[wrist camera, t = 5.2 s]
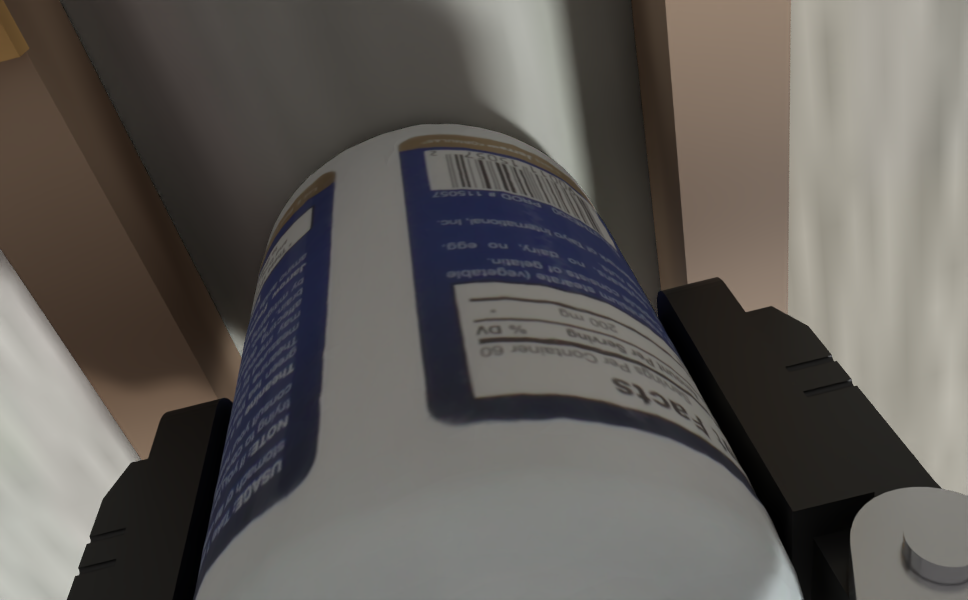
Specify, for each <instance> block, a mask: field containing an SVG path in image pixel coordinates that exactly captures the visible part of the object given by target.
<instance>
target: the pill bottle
mask: <svg viewBox="0 0 968 600" xmlns="http://www.w3.org/2000/svg"><path fill="white" fill-rule="evenodd" d="M193 600H804V597H803V593H802V590H801V587H800V583H799V580H798V577H797V573H796V571H795V569H794V567H793V565H792V563H791V561H790V559H789V557H788V555H787V552H786V550H785V548H784V546H783V544H782V542H781V540H780V538H779V535H778V533H777V531H776V528H775V526H774V524H773V521H772V519H771V518H770V516H769V514H768V512H767V511H766V509H765V507H764V505H763V504H762V503H761V501H760V500H759V498H758V497H757V496H756V493H755V491H754V489H753V487H752V485H751V483H750V481H749V479H748V477H747V475H746V473H745V472H744V470H743V469H742V467H741V465H740V464H739V462H738V460H737V458H736V456H735V454H734V452H733V451H732V449H731V447H730V445H729V443H728V441H727V439H726V438H725V436H724V435H723V433H722V432H721V430H720V427H719V425H718V423H717V422H716V420H715V418H714V417H713V415H712V413H711V411H710V410H709V408H708V406H707V404H706V403H705V401H704V399H703V397H702V396H701V394H700V392H699V390H698V388H697V386H696V384H695V383H694V381H693V379H692V377H691V376H690V374H689V372H688V370H687V368H686V367H685V365H684V363H683V361H682V359H681V357H680V355H679V353H678V351H677V349H676V348H675V346H674V344H673V343H672V341H671V340H670V338H669V336H668V335H667V333H666V331H665V329H664V327H663V325H662V323H661V322H660V320H659V318H658V317H657V315H656V313H655V311H654V309H653V307H652V306H651V304H650V302H649V300H648V298H647V297H646V295H645V293H644V292H643V290H642V288H641V286H640V285H639V283H638V281H637V279H636V277H635V276H634V274H633V272H632V270H631V269H630V267H629V265H628V263H627V262H626V260H625V258H624V257H623V255H622V253H621V251H620V250H619V248H618V246H617V244H616V242H615V240H614V238H613V237H612V235H611V233H610V232H609V230H608V228H607V226H606V225H605V223H604V222H603V220H602V219H601V218H600V216H599V215H598V214H597V212H596V210H595V208H594V206H593V204H592V202H591V201H590V199H589V198H588V196H587V195H586V193H585V192H584V191H583V190H582V188H581V187H580V186H579V185H578V183H577V182H576V181H575V179H574V178H573V177H572V176H571V175H570V174H569V173H568V172H567V171H566V170H565V169H564V168H563V167H561V166H560V165H559V164H558V163H556V162H555V161H554V160H552V159H551V158H550V157H548V156H547V155H545V154H544V153H542V152H541V151H539V150H537V149H536V148H534V147H532V146H530V145H528V144H526V143H524V142H521V141H519V140H517V139H515V138H513V137H510V136H508V135H505V134H502V133H499V132H495V131H491V130H487V129H483V128H479V127H472V126H466V125H459V124H421V125H416V126H411V127H406V128H403V129H399V130H395V131H392V132H388V133H384V134H381V135H379V136H376V137H374V138H371V139H369V140H367V141H365V142H362V143H360V144H358V145H356V146H353V147H351V148H349V149H347V150H345V151H343V152H342V153H340V154H339V155H337V156H336V157H334V158H333V159H331V160H330V161H328V162H327V163H326V164H325V165H323V166H322V167H321V168H320V169H318V170H317V171H316V172H314V173H313V174H312V175H311V176H309V177H308V178H307V179H306V181H305V182H304V183H303V184H302V185H301V186H300V187H299V188H298V189H297V190H296V191H295V192H294V194H293V195H292V197H291V198H290V199H289V201H288V202H287V204H286V205H285V206H284V208H283V210H282V211H281V213H280V215H279V217H278V219H277V221H276V222H275V225H274V227H273V230H272V232H271V234H270V237H269V240H268V244H267V248H266V251H265V254H264V257H263V260H262V264H261V267H260V271H259V275H258V279H257V286H256V291H255V296H254V301H253V306H252V311H251V317H250V322H249V325H248V329H247V333H246V338H245V343H244V348H243V354H242V359H241V364H240V369H239V374H238V379H237V385H236V391H235V396H234V401H233V406H232V411H231V417H230V422H229V426H228V431H227V436H226V441H225V446H224V451H223V456H222V461H221V467H220V472H219V477H218V481H217V486H216V490H215V494H214V500H213V506H212V511H211V516H210V520H209V525H208V531H207V535H206V539H205V543H204V547H203V552H202V558H201V564H200V569H199V574H198V579H197V584H196V589H195V594H194V598H193Z"/></svg>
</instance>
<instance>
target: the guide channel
mask: <svg viewBox="0 0 968 600" xmlns="http://www.w3.org/2000/svg"><path fill="white" fill-rule="evenodd" d="M631 5H632V14H633V24H634V34H635V43H636V53H637V63H638V72H639V82H640V92H641V101H642V111H643V121H644V130H645V140H646V150H647V159H648V169H649V179H650V188H651V198H652V208H653V217H654V227H655V237H656V246H657V256H658V266H659V275H660V285H661V291H662V290H666V289H670V288H674V287H678V286H682V285H686V284H690V283H694V282H698V281H702V280H706V279H711V278H715V277H719V278H720V279H722V280H723V281H724V283H725V284H726V285H727V287H728V288H729V290H730V291H731V292H732V294H733V295H734V296H735V298H736V299H737V301H738V302H739V303H740V305H741V306H742V308H743V309H744V310H745V312H749V311H753V310H757V309H761V308H765V307H769V306H773V307H775V308H776V309H778V310H780V311H782V312H784V313H785V314H787V315H788V224H789V123H790V21H791V0H631ZM0 249H1V250H2V252H3V253H4V255H5V256H6V258H7V259H8V261H9V262H10V264H11V265H12V267H13V268H14V270H15V271H16V273H17V274H18V276H19V277H20V279H21V280H22V282H23V283H24V284H25V286H26V287H27V289H28V290H29V292H30V293H31V295H32V296H33V298H34V299H35V301H36V302H37V304H38V305H39V307H40V308H41V310H42V311H43V313H44V314H45V316H46V317H47V319H48V320H49V322H50V323H51V325H52V326H53V328H54V329H55V331H56V332H57V334H58V335H59V337H60V338H61V340H62V341H63V343H64V344H65V346H66V347H67V349H68V350H69V352H70V353H71V355H72V356H73V358H74V359H75V361H76V362H77V364H78V365H79V367H80V368H81V370H82V371H83V373H84V374H85V376H86V377H87V379H88V380H89V382H90V383H91V385H92V386H93V388H94V389H95V391H96V392H97V394H98V395H99V397H100V398H101V400H102V401H103V403H104V404H105V406H106V407H107V409H108V410H109V412H110V413H111V415H112V416H113V418H114V419H115V421H116V422H117V424H118V425H119V427H120V428H121V430H122V431H123V433H124V434H125V436H126V437H127V439H128V440H129V442H130V443H131V445H132V446H133V448H134V449H135V451H136V452H137V453H138V455H139V456H140V458H141V459H142V460H145V459H148V457H149V454H150V450H151V447H152V444H153V441H154V438H155V435H156V431H157V428H158V425H159V422H160V419H161V417H162V416H163V414H165V413H166V412H169V411H173V410H177V409H181V408H185V407H189V406H193V405H197V404H201V403H205V402H209V401H213V400H217V399H221V398H228V399H229V400H231V401H232V402H233V401H234V396H235V391H236V385H237V379H238V374H239V369H240V364H241V359H242V358H241V356H240V354H239V352H238V350H237V348H236V346H235V344H234V342H233V340H232V338H231V336H230V334H229V332H228V330H227V329H226V327H225V325H224V323H223V321H222V319H221V317H220V315H219V313H218V311H217V309H216V307H215V305H214V303H213V301H212V299H211V297H210V295H209V293H208V291H207V289H206V287H205V285H204V283H203V281H202V279H201V277H200V275H199V274H198V272H197V270H196V268H195V266H194V264H193V262H192V260H191V258H190V256H189V254H188V252H187V250H186V248H185V246H184V244H183V242H182V240H181V238H180V236H179V234H178V232H177V230H176V228H175V226H174V224H173V222H172V220H171V219H170V217H169V215H168V213H167V211H166V209H165V207H164V205H163V203H162V201H161V199H160V197H159V195H158V193H157V191H156V189H155V187H154V185H153V183H152V181H151V179H150V177H149V175H148V173H147V171H146V169H145V167H144V165H143V164H142V162H141V160H140V158H139V156H138V154H137V152H136V150H135V148H134V146H133V144H132V142H131V140H130V138H129V136H128V134H127V132H126V130H125V128H124V126H123V124H122V122H121V120H120V118H119V116H118V114H117V112H116V110H115V108H114V107H113V105H112V103H111V101H110V99H109V97H108V95H107V93H106V91H105V89H104V87H103V85H102V83H101V81H100V79H99V77H98V75H97V73H96V71H95V69H94V67H93V65H92V63H91V61H90V59H89V57H88V55H87V53H86V52H85V50H84V48H83V46H82V44H81V42H80V40H79V38H78V36H77V34H76V32H75V30H74V28H73V26H72V24H71V22H70V20H69V18H68V16H67V14H66V12H65V10H64V8H63V6H62V4H61V2H60V0H0Z"/></svg>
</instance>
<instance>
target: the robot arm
mask: <svg viewBox="0 0 968 600" xmlns="http://www.w3.org/2000/svg"><path fill="white" fill-rule="evenodd" d="M657 308H658V318H659V320H660V322H661V323H662V325H663V327H664V329H665V331H666V333H667V335H668V336H669V338H670V340H671V341H672V343H673V344H674V346H675V348H676V349H677V351H678V353H679V355H680V357H681V359H682V361H683V363H684V365H685V367H686V368H687V370H688V372H689V374H690V376H691V377H692V379H693V381H694V383H695V384H696V386H697V388H698V390H699V392H700V394H701V396H702V397H703V399H704V401H705V403H706V404H707V406H708V408H709V410H710V411H711V413H712V415H713V417H714V418H715V420H716V422H717V423H718V425H719V427H720V430H721V432H722V433H723V435H724V436H725V438H726V439H727V441H728V443H729V445H730V447H731V449H732V451H733V452H734V454H735V456H736V458H737V460H738V462H739V464H740V465H741V467H742V469H743V470H744V472H745V473H746V475H747V477H748V479H749V481H750V483H751V485H752V487H753V489H754V491H755V493H756V496H757V497H758V498H759V500H760V501H761V503H762V504H763V505H764V507H765V509H766V511H767V512H768V514H769V516H770V518H771V519H772V521H773V524H774V526H775V528H776V531H777V533H778V535H779V538H780V540H781V542H782V544H783V546H784V548H785V550H786V552H787V555H788V557H789V559H790V561H791V563H792V565H793V567H794V569H795V571H796V573H797V577H798V580H799V583H800V587H801V590H802V593H803V597H804V600H968V496H966V495H963V494H961V493H958V492H954V491H949V490H945V489H942V488H941V487H940V486H939V485H938V484H937V483H936V482H935V481H934V480H933V479H932V477H931V476H930V475H929V474H928V472H927V471H926V470H925V469H924V468H923V466H922V465H921V464H920V463H919V461H918V460H917V459H916V458H915V457H914V455H913V454H912V453H911V452H910V450H909V449H908V448H907V447H906V445H905V444H904V443H903V442H902V441H901V439H900V438H899V437H898V436H897V434H896V433H895V432H894V431H893V430H892V428H891V427H890V426H889V425H888V423H887V422H886V421H885V420H884V418H883V417H882V416H881V415H880V414H879V412H878V411H877V410H876V409H875V407H874V406H873V405H872V404H871V403H870V401H869V400H868V399H867V398H866V396H865V395H864V394H863V393H862V391H861V390H860V389H859V388H858V387H857V386H853V384H852V379H851V378H850V377H849V375H848V374H847V373H846V372H845V371H844V369H843V368H842V367H841V366H840V364H839V363H838V362H837V361H835V362H834V361H833V359H832V355H831V353H830V352H829V351H828V350H827V348H826V347H825V346H824V345H823V344H822V342H821V341H820V340H819V339H818V337H817V336H816V335H815V334H814V333H813V331H812V330H811V329H810V328H809V326H807V325H805V324H803V323H802V322H800V321H798V320H796V319H794V318H793V317H791V316H789V315H787V314H785V313H784V312H782V311H780V310H778V309H776V308H775V307H773V306H769V307H765V308H761V309H757V310H753V311H749V312H745V310H744V309H743V308H742V306H741V305H740V303H739V302H738V301H737V299H736V298H735V296H734V295H733V294H732V292H731V291H730V290H729V288H728V287H727V285H726V284H725V283H724V281H723V280H722V279H720V278H719V277H715V278H711V279H706V280H702V281H698V282H694V283H690V284H686V285H682V286H678V287H674V288H670V289H666V290H662V291H659V292H658V295H657ZM232 406H233V402H232V401H231V400H229V399H228V398H221V399H217V400H213V401H209V402H205V403H201V404H197V405H193V406H189V407H185V408H181V409H177V410H173V411H169V412H166V413H165V414H163V416H162V417H161V419H160V422H159V425H158V428H157V431H156V435H155V438H154V441H153V444H152V447H151V450H150V454H149V457H148V459H145V460H140V461H136V462H132V463H130V465H129V466H128V467H127V469H126V470H125V471H124V473H123V474H122V475H121V476H120V478H119V479H118V480H117V482H116V483H115V484H114V485H113V487H112V488H111V489H110V491H109V492H108V493H107V494H106V496H105V497H104V498H103V500H102V503H101V506H100V509H99V511H98V514H97V517H96V520H95V523H94V525H93V528H92V531H91V534H90V539H91V543H89V544H87V545H86V548H85V551H84V553H83V556H82V559H81V562H80V565H79V567H78V568H79V571H80V574H79V575H78V576H75V578H74V581H73V584H72V587H71V590H70V592H69V595H68V598H67V600H193V598H194V594H195V589H196V584H197V579H198V574H199V569H200V564H201V558H202V552H203V547H204V543H205V539H206V535H207V531H208V525H209V520H210V516H211V511H212V506H213V500H214V494H215V490H216V486H217V481H218V477H219V472H220V467H221V461H222V456H223V451H224V446H225V441H226V436H227V431H228V426H229V422H230V417H231V411H232Z"/></svg>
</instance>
